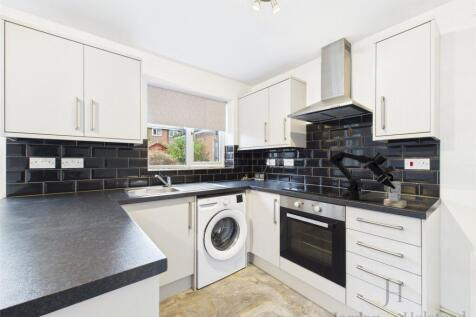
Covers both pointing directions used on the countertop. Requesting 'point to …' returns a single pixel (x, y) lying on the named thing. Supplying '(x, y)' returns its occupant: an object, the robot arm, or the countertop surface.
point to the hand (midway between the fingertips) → (396, 187)
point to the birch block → (395, 203)
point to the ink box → (395, 191)
